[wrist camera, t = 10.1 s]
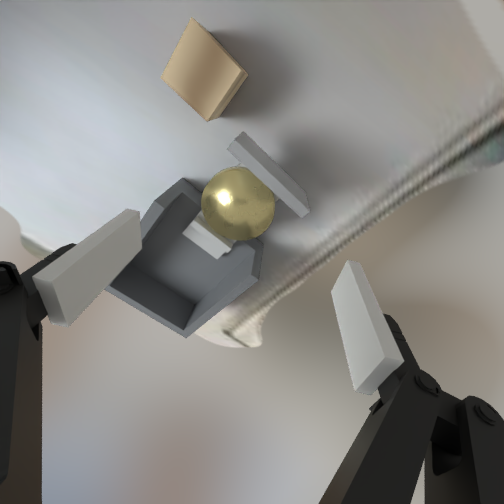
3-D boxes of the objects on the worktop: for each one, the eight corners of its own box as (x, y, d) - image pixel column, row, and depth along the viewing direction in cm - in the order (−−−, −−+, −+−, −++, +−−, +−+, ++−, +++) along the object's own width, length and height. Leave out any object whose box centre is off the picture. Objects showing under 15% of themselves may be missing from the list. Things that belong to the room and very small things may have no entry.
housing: (130, 252, 38) (97, 285, 31) (182, 177, 30) (154, 200, 24) (201, 299, 42) (186, 338, 35) (263, 244, 35) (258, 280, 28)
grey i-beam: (172, 222, 30) (153, 244, 26) (243, 130, 24) (234, 139, 19) (228, 263, 33) (219, 290, 29) (305, 191, 26) (310, 211, 22)
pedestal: (180, 80, 25) (160, 77, 21) (208, 31, 23) (191, 16, 18) (218, 117, 26) (206, 121, 22) (248, 74, 24) (241, 70, 20)
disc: (234, 149, 24) (231, 152, 23) (290, 201, 27) (290, 207, 25) (191, 204, 28) (187, 209, 27) (243, 245, 30) (242, 252, 29)
